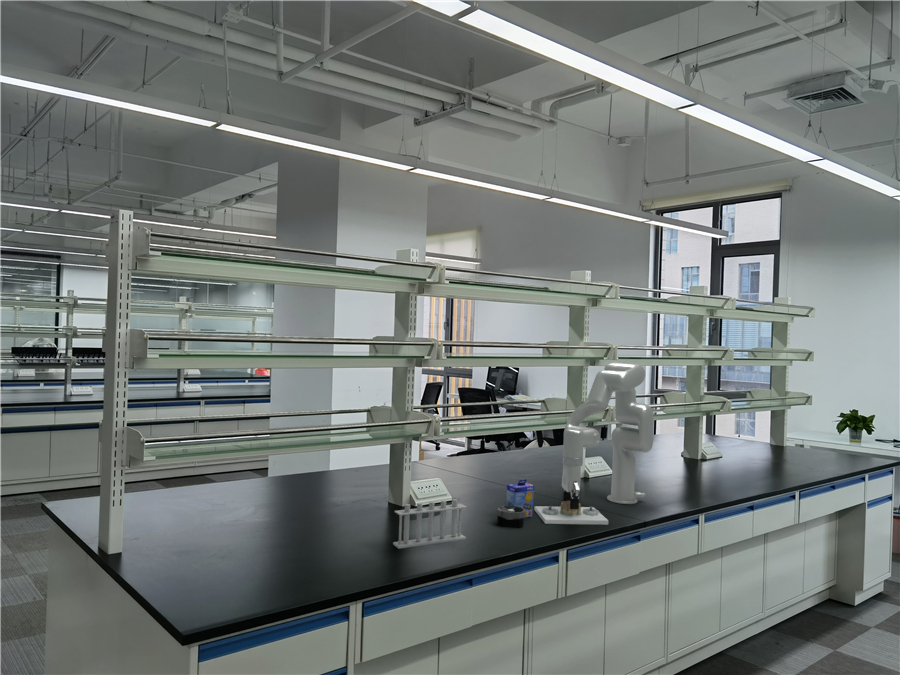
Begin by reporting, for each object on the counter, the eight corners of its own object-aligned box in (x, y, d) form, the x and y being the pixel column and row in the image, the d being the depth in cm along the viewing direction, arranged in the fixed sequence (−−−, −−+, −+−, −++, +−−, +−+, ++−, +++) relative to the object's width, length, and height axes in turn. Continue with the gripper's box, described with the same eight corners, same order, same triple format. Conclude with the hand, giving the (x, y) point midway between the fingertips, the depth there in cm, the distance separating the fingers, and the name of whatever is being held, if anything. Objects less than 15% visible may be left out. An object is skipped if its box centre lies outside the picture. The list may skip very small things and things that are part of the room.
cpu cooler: (526, 506, 243) (524, 513, 233) (525, 521, 243) (523, 529, 233) (498, 503, 245) (495, 510, 235) (497, 518, 245) (495, 526, 235)
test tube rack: (398, 549, 206) (400, 507, 206) (392, 544, 210) (394, 504, 210) (466, 539, 219) (467, 500, 218) (459, 535, 222) (461, 497, 222)
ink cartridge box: (513, 520, 243) (515, 481, 243) (504, 516, 248) (505, 478, 248) (533, 516, 249) (535, 478, 249) (524, 512, 253) (525, 475, 253)
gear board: (593, 511, 260) (594, 498, 260) (608, 524, 242) (608, 510, 242) (534, 510, 258) (535, 497, 258) (545, 523, 240) (545, 509, 240)
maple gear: (577, 510, 254) (577, 500, 254) (582, 515, 247) (583, 506, 247) (558, 509, 254) (558, 500, 254) (563, 515, 246) (563, 505, 246)
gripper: (557, 456, 258) (555, 499, 258) (569, 465, 241) (567, 511, 241) (575, 456, 259) (574, 499, 259) (588, 466, 242) (586, 512, 242)
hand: (570, 505), depth 250 cm, fingers open, 9 cm apart
